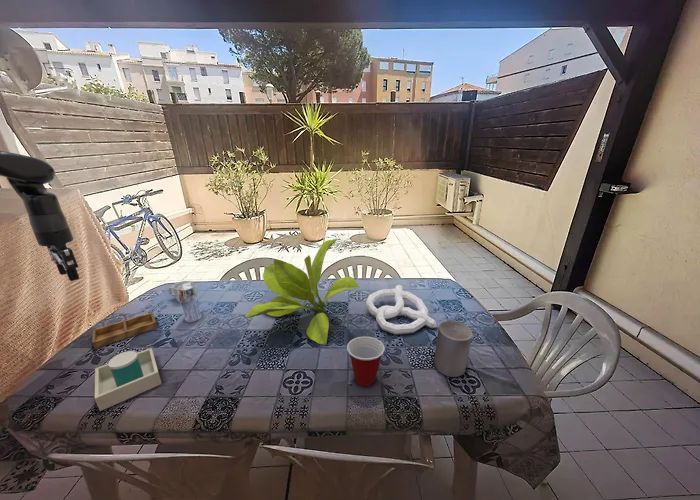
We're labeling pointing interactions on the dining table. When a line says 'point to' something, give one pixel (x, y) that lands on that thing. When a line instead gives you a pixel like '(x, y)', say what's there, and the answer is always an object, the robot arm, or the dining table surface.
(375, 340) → the plastic cup
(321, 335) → the artificial plant
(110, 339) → the brown wooden divided tray
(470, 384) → the dining table surface
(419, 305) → the pretzel
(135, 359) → the container
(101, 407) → the shallow cream tray
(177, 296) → the cup
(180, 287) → the beer glass
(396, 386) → the dining table surface
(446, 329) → the pillar candle
